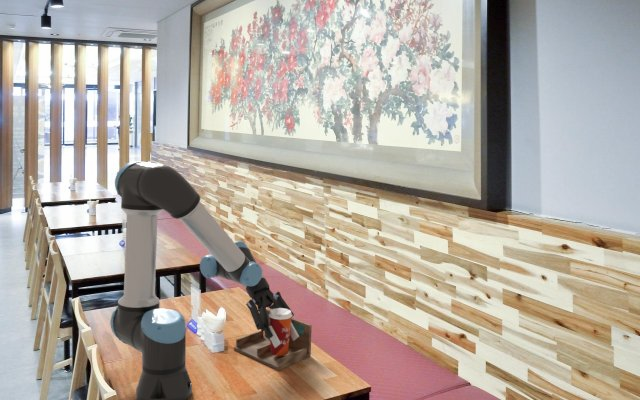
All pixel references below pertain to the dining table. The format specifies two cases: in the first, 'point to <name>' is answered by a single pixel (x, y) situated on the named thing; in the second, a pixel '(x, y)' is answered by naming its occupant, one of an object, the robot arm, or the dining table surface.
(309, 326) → the rack
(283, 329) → the paper cup
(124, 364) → the dining table surface
